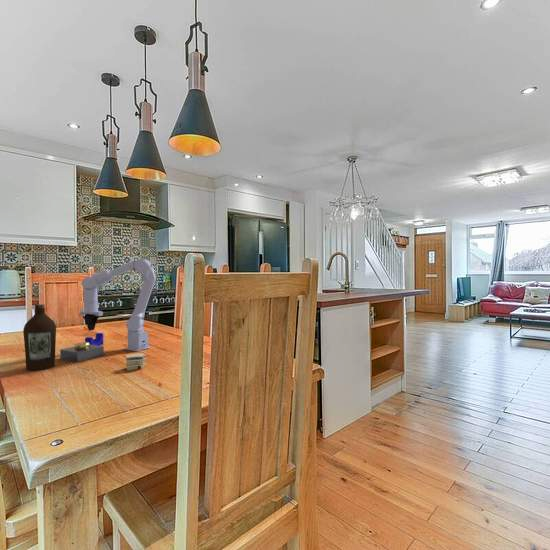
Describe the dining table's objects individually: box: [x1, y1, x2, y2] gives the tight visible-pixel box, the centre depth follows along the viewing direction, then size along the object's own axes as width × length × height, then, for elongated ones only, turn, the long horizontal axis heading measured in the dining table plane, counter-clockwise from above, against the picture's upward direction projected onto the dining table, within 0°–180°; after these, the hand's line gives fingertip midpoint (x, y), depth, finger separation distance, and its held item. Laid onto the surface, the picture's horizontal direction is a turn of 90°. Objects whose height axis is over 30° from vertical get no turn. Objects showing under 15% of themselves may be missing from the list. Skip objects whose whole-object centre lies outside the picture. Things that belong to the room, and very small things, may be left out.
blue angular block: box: [84, 332, 104, 346], centre depth 164 cm, size 12×4×6 cm, turn 2°
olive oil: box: [22, 303, 57, 372], centre depth 129 cm, size 11×11×25 cm
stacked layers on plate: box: [125, 352, 147, 371], centre depth 128 cm, size 10×9×6 cm
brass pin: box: [74, 341, 90, 350], centre depth 145 cm, size 6×6×6 cm
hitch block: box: [59, 344, 105, 363], centre depth 145 cm, size 12×12×4 cm
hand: (91, 330), depth 156 cm, fingers closed
